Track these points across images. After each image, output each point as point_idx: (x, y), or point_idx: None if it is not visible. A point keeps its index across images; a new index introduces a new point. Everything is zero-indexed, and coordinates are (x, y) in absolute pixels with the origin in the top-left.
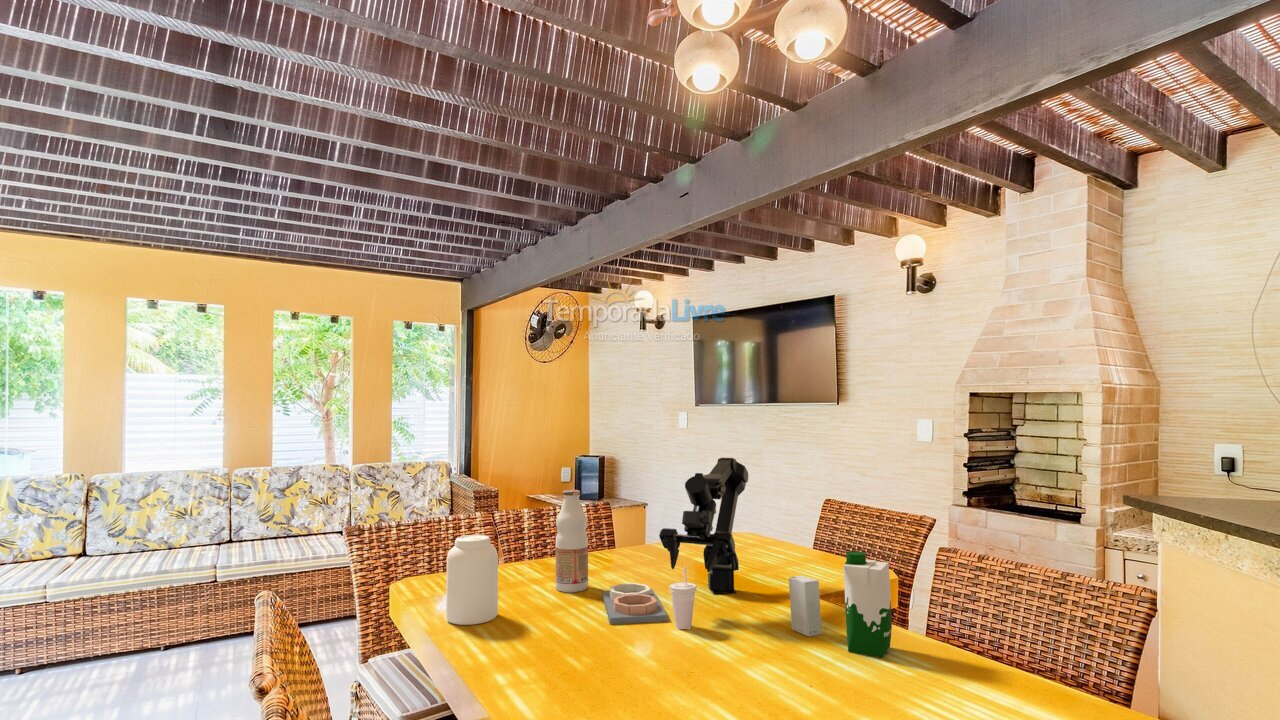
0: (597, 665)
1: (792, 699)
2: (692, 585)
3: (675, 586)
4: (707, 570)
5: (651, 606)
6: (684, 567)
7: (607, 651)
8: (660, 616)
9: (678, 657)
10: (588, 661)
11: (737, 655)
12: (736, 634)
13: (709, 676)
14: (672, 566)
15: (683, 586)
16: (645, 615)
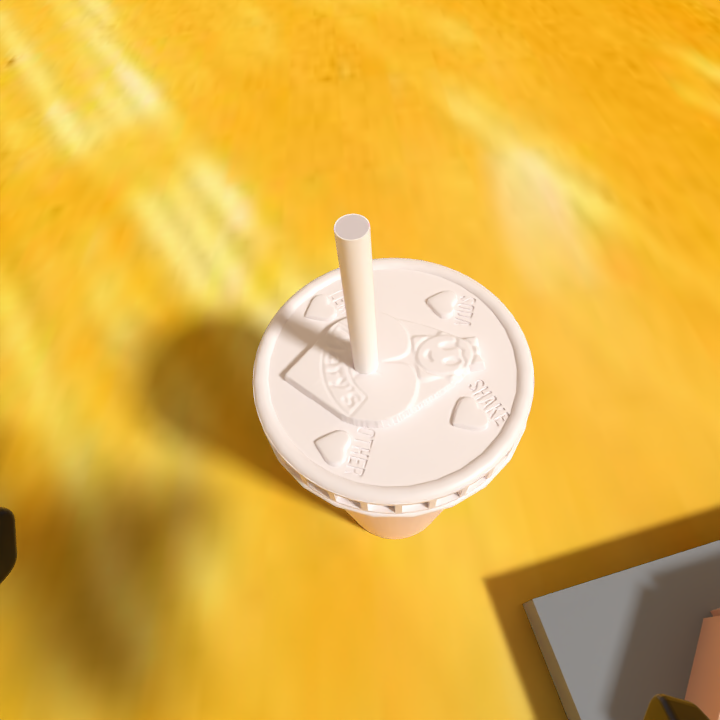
0: (640, 74)
1: (88, 10)
2: (289, 369)
3: (464, 335)
4: (9, 513)
5: (711, 681)
6: (358, 220)
7: (668, 163)
8: (579, 585)
9: (378, 154)
10: (688, 91)
11: (159, 194)
12: (102, 409)
13: (274, 65)
14: (665, 696)
15: (379, 313)
16: (694, 566)
